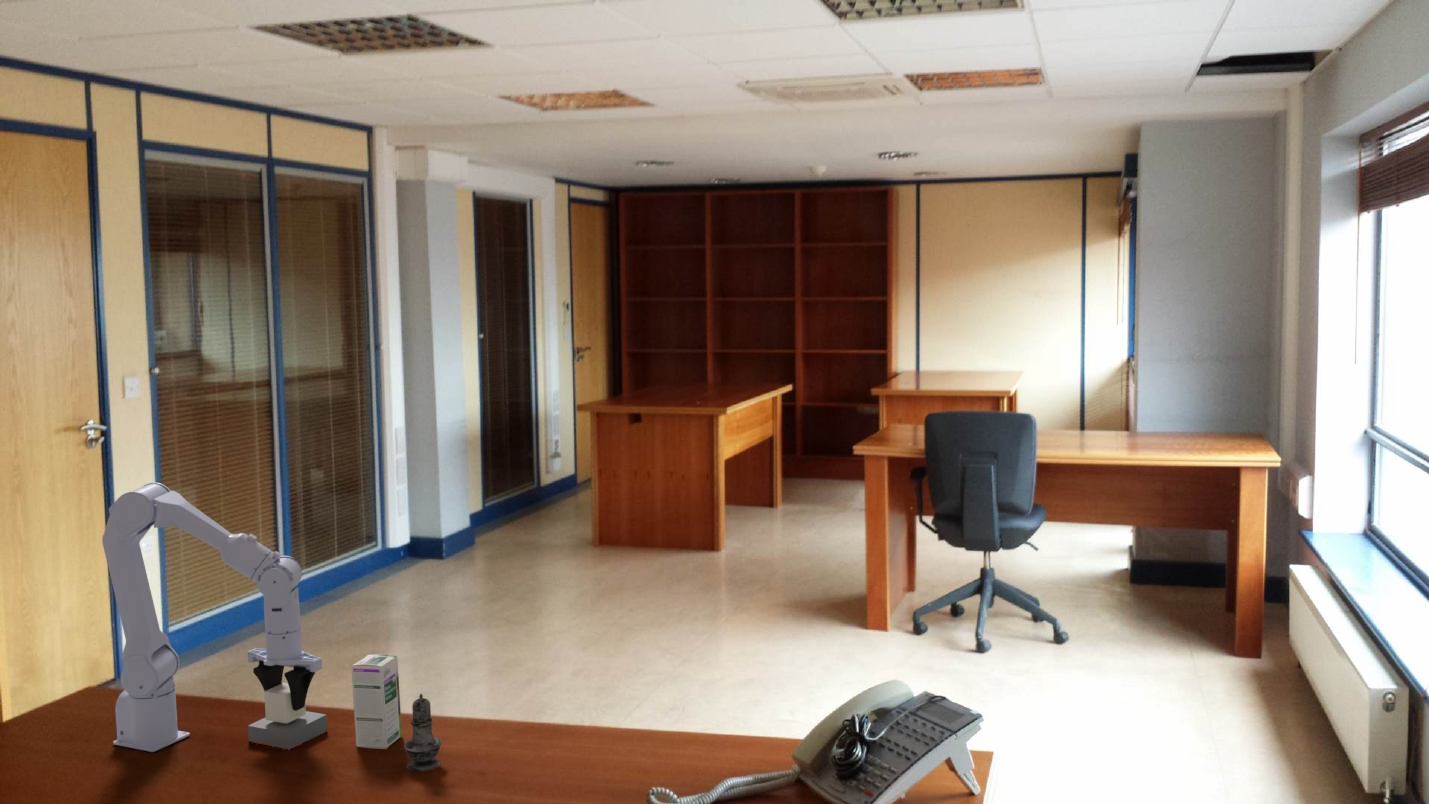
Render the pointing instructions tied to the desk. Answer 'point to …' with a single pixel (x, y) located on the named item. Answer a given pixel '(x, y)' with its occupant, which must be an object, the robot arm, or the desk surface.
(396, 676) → the syrup box
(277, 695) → the cream white cube
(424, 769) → the salt shaker
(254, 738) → the block
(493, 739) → the desk surface
